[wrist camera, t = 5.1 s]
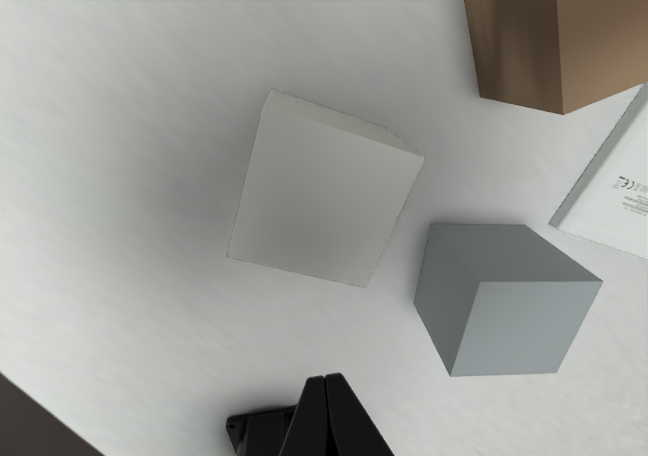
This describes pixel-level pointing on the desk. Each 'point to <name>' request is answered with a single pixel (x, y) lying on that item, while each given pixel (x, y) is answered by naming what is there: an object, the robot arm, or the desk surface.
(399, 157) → the off-white cube
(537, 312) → the slate-grey block
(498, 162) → the desk surface
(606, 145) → the external hard drive
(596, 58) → the walnut block
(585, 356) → the desk surface
